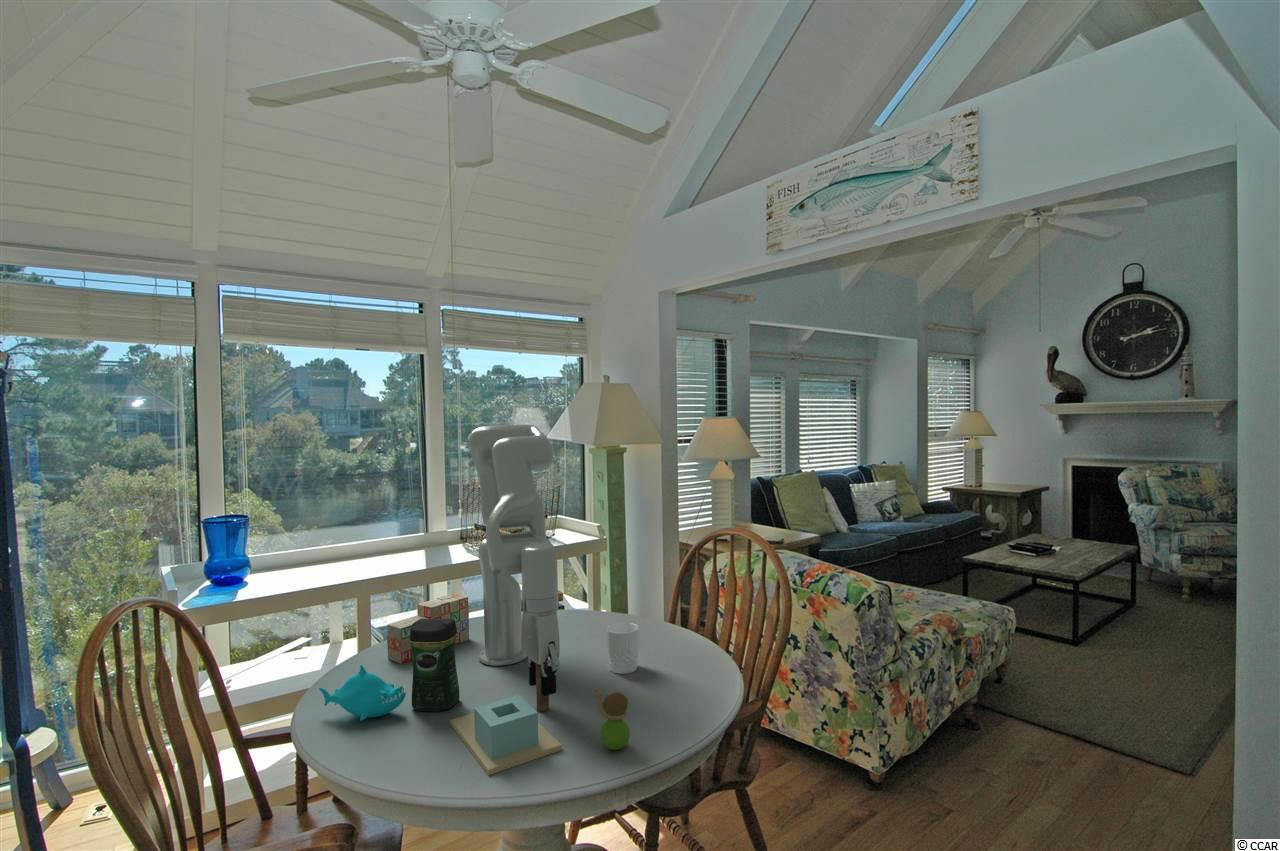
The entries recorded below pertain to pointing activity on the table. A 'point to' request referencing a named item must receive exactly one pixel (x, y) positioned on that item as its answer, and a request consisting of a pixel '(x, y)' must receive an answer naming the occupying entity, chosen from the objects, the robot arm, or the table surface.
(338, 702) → the toy shark
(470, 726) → the shape sorter toy
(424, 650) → the coffee jar
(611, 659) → the white cup
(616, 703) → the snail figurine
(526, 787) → the table surface
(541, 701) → the brown wooden rod
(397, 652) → the stack of blocks
